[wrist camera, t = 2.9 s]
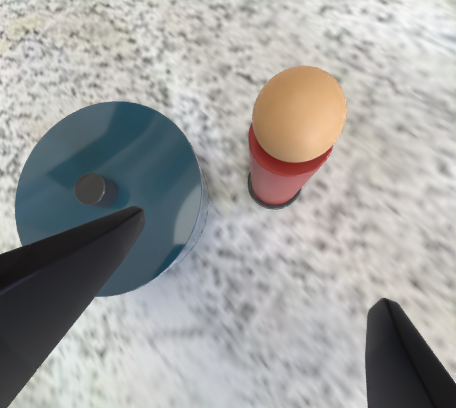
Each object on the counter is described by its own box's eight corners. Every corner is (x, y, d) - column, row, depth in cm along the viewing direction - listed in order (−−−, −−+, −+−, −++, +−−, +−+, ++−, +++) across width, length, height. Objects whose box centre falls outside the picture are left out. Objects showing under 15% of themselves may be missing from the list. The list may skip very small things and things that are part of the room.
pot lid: (117, 337, 17) (91, 355, 14) (-6, 211, 19) (-47, 207, 17) (244, 178, 17) (242, 167, 15) (109, 77, 20) (86, 52, 17)
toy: (269, 219, 21) (295, 186, 7) (237, 179, 22) (210, 83, 8) (311, 188, 21) (413, 97, 7) (278, 148, 22) (316, 3, 8)
